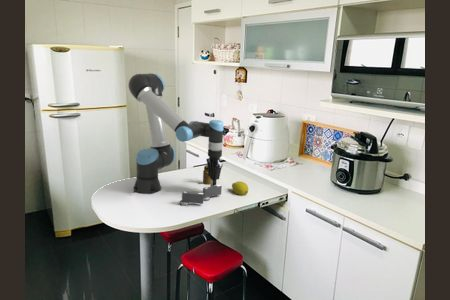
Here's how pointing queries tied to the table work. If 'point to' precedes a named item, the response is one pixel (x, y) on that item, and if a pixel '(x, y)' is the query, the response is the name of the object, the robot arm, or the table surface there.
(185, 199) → the grey lever handle
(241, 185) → the lemon
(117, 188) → the table surface
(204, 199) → the grey lever handle
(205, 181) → the condiment
